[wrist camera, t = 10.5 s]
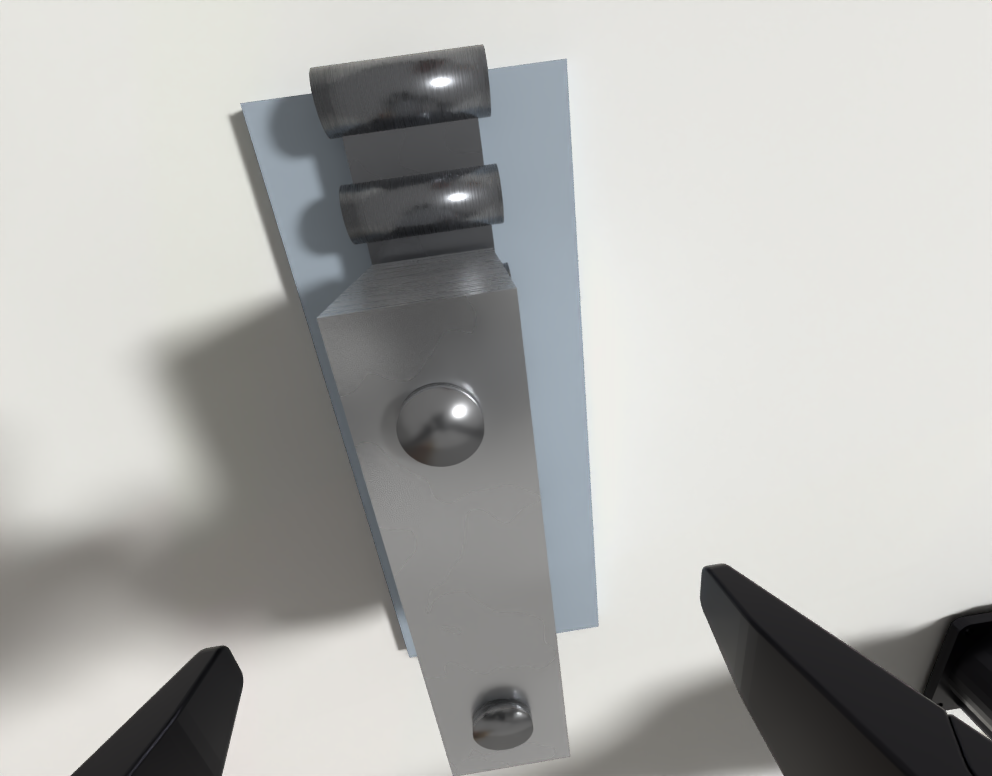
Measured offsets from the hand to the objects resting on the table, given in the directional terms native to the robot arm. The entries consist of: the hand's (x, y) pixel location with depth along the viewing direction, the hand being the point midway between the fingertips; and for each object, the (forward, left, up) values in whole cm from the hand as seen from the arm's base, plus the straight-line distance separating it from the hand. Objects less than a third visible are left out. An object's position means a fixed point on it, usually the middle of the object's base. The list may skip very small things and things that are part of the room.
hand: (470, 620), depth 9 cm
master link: (0, 0, -6) cm, 6 cm away
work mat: (0, 0, -8) cm, 8 cm away
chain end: (+6, 0, -7) cm, 9 cm away
